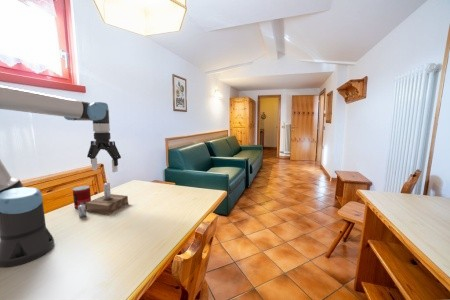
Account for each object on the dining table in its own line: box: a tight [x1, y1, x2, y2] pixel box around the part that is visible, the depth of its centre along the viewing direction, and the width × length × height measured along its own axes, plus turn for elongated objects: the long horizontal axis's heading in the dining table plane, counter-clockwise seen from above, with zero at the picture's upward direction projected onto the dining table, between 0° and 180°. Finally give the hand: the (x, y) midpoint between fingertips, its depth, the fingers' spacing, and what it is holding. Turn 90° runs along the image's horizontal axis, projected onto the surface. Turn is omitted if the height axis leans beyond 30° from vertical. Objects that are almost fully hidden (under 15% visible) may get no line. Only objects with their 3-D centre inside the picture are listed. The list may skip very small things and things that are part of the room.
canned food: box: [72, 185, 92, 210], centre depth 112 cm, size 8×8×11 cm
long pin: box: [102, 182, 112, 201], centre depth 109 cm, size 3×3×14 cm
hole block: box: [86, 193, 129, 216], centre depth 110 cm, size 14×14×5 cm
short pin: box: [77, 204, 87, 219], centre depth 99 cm, size 3×3×6 cm
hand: (104, 171), depth 107 cm, fingers open, 13 cm apart
